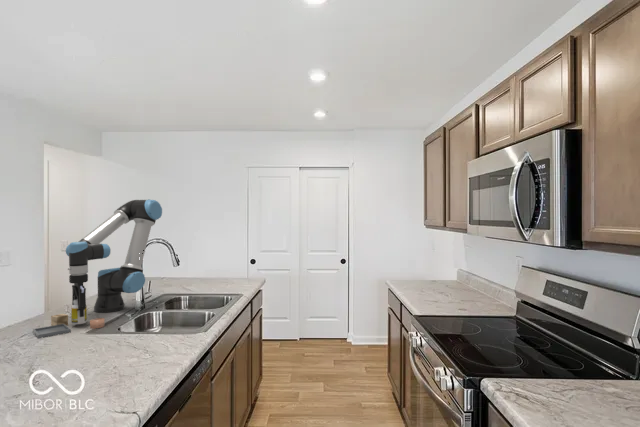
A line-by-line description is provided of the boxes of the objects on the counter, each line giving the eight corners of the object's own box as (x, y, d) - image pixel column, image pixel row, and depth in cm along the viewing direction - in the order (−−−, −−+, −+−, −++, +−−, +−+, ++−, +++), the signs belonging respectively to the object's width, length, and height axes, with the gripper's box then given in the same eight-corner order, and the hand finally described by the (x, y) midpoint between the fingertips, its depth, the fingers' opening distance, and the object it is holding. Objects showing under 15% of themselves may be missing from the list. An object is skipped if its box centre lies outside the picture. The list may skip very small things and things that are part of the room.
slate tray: (64, 326, 177) (64, 323, 177) (70, 332, 169) (70, 329, 169) (32, 332, 169) (32, 329, 169) (38, 338, 160) (38, 335, 160)
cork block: (62, 323, 183) (62, 313, 183) (68, 325, 180) (68, 314, 181) (51, 326, 178) (51, 315, 179) (56, 327, 176) (56, 317, 176)
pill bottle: (81, 324, 176) (81, 301, 176) (68, 324, 177) (68, 301, 176) (89, 320, 183) (89, 298, 182) (77, 320, 183) (76, 298, 183)
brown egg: (102, 324, 182) (102, 317, 182) (106, 327, 178) (106, 319, 178) (88, 327, 178) (88, 319, 178) (91, 329, 174) (92, 322, 174)
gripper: (64, 272, 183) (65, 319, 183) (74, 277, 170) (75, 328, 170) (82, 270, 189) (82, 316, 189) (93, 275, 175) (94, 324, 176)
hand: (79, 321), depth 180 cm, fingers closed on pill bottle, 6 cm apart
